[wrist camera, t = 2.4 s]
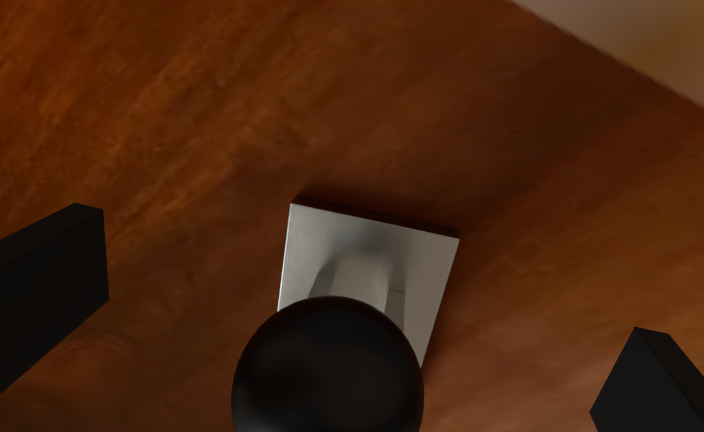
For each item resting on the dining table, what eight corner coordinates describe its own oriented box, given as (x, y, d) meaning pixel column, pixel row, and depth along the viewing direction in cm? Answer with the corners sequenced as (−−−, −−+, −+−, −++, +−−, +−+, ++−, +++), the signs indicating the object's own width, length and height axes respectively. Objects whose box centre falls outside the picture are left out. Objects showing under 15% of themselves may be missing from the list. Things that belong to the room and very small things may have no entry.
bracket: (295, 195, 24) (179, 350, 12) (458, 229, 24) (496, 426, 12) (275, 361, 29) (177, 585, 17) (409, 393, 28) (402, 647, 17)
